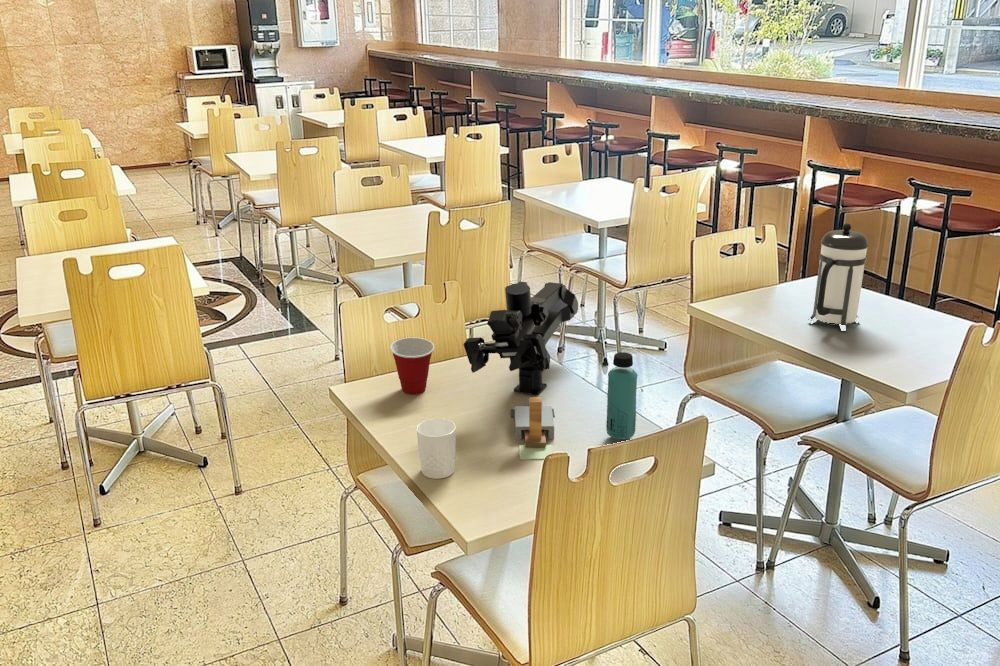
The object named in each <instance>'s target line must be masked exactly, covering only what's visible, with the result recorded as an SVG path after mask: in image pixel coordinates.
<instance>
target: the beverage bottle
mask: <svg viewBox="0 0 1000 666" xmlns="http://www.w3.org/2000/svg"><path fill="white" fill-rule="evenodd" d="M633 359H634V358H633V354H631V353H629V352H627V351H626V352H624V351H622V352H616V353H614V355H613V359H612V360H613V361H612V362H613V363H612V364H613V365H614V366H615V367H612V368H611V369H610V370H609V371H608V373H607V378H608V379H607V395H606V397H607V400H606V403H607V405H606V421H605V424H606V434H607V435H608V436H609V437H610V438H613V439H618V440H627V439H630V438H633V437H634V435H635V433H636V426H637V424H636V422H637V386H638V385H637V383H638V373H637V372H636V371H635V369H634V368H632V366H633V365H634V361H633Z"/></svg>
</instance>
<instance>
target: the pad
mask: <svg viewBox="0 0 1000 666" xmlns="http://www.w3.org/2000/svg"><path fill="white" fill-rule="evenodd" d="M518 446H519V460H520V461H524V460H526V461H530V460H531V461H533V460H537V461H538V460H545V459H544V457H545V456H546V455H547V454H550V453H553V452H554V451H553V445H552V444H546V447H525V444H519V445H518Z"/></svg>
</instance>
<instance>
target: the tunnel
mask: <svg viewBox="0 0 1000 666" xmlns="http://www.w3.org/2000/svg"><path fill="white" fill-rule="evenodd" d="M514 409H515V418H514V428H515V429H514V430H515V431H514V432H515V440H522V431H524V430H529V405H525V406H524V405H522V406H521V405H520V406H519V405H518V406H517V405H516V406H514ZM552 409H553V408H552V405H542V426H541V430H545V431H546V430H547V437H548V440H549V439H550V440H554V439H555V420H554V417H553V413H552Z"/></svg>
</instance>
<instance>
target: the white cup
mask: <svg viewBox="0 0 1000 666" xmlns="http://www.w3.org/2000/svg"><path fill="white" fill-rule="evenodd" d="M456 430H457V427H456V424H455V423H454V422H453V421H452V420H449V419H447V418H430V419H425V420H424V421H423V420H422V421H421V422H420V423H418V425H417V426H416V437H417V445H418V446H417V448H418V452H419V453H418V455H419V461H420V469H421V471H420V472H421V473H422V474H423V476H425V477H426V478H429V479H436V480H439V479H445V478H447V477H451V476H452V474H454V473H455V459H456V445H457V443H456V441H457V440H456V439H457V435H456V432H457V431H456Z"/></svg>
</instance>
